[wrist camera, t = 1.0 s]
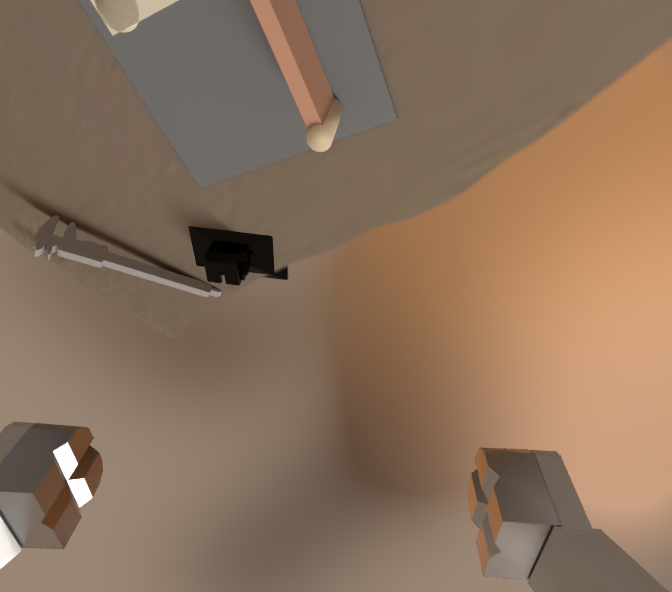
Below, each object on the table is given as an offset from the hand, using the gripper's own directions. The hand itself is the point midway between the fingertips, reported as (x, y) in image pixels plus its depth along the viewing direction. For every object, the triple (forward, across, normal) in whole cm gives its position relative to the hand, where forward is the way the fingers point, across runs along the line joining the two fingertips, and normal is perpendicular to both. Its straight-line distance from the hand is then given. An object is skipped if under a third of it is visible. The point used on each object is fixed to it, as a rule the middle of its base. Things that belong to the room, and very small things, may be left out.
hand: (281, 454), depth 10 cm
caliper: (+42, +24, +18) cm, 51 cm away
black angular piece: (+41, +13, +16) cm, 45 cm away
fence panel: (+35, +3, -5) cm, 35 cm away
